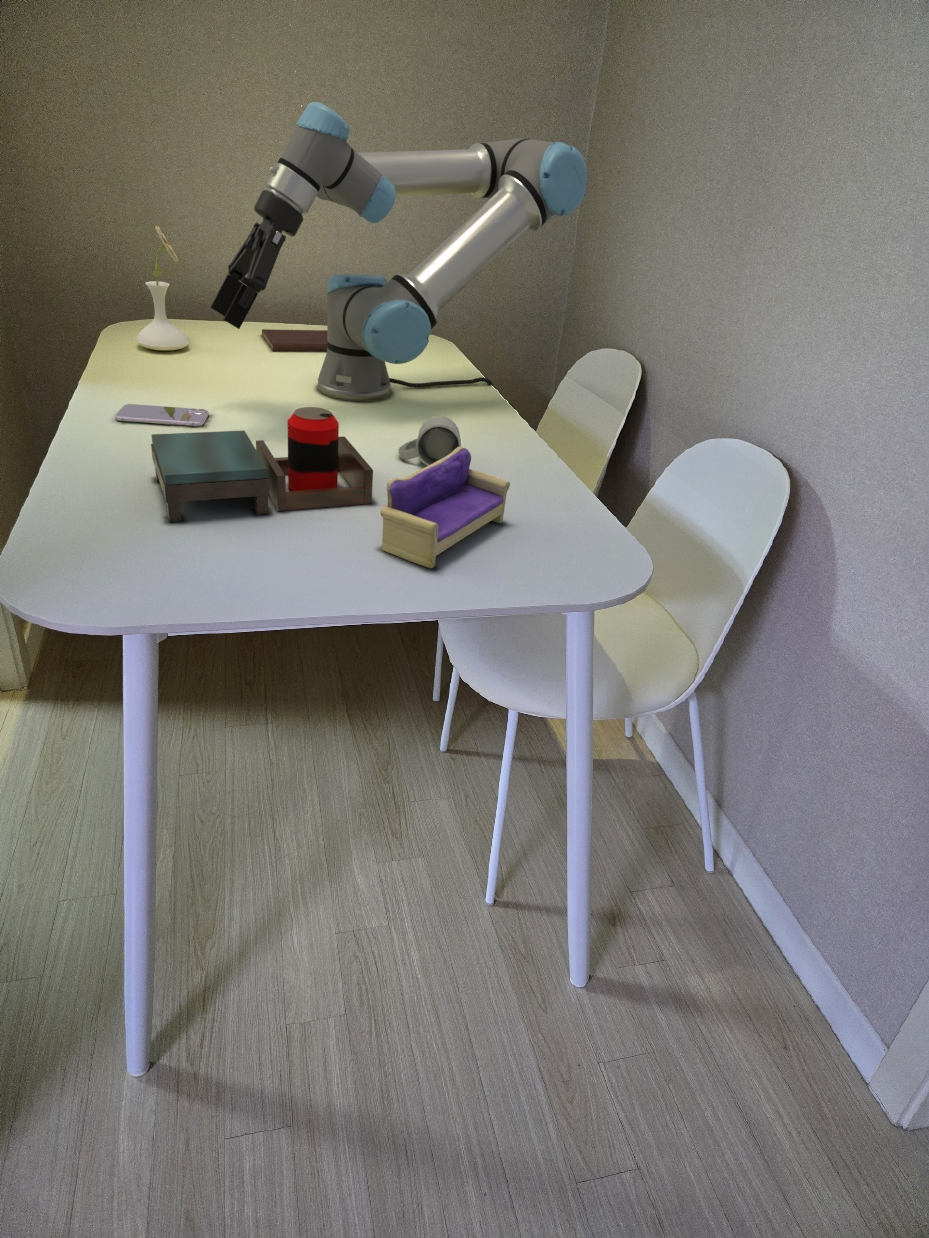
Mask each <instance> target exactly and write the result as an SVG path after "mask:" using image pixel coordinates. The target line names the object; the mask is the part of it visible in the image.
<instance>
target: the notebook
mask: <svg viewBox="0 0 929 1238" xmlns="http://www.w3.org/2000/svg"><path fill="white" fill-rule="evenodd" d="M261 336H262V338H263V339H264V341H265V343H266V344H267V345H268V346H269V348H270V349H271V350H272V352H322V353H323V352H325V353H327V330H325V329H322V330H321V329H273V328H271V329H269V328H267V329H266V328H265V329H264V328H262V329H261Z"/></svg>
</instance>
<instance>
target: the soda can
mask: <svg viewBox="0 0 929 1238" xmlns="http://www.w3.org/2000/svg"><path fill="white" fill-rule="evenodd" d="M286 423H287V457H288V474H287V476H288V477H287V479H288V480H287V482H288V483H287V484H288V488H289V490H290V491H303V490H316V489H329V488H339V486H338V485H339V484H338V483H339V481H338V478H339V471H338V439H339V437H340V435H339V434H340V423H339V421H338V420H337V418H336V417H335V416H334V414H333V412H332V411H331V410H329V409H326V408H323V407H317V406H305V407H304V406H303V407H299V408H297V409H295V410H294V411H293V413H292V414H291V415H290V416H289V417H288V419H287V421H286Z"/></svg>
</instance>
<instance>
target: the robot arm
mask: <svg viewBox="0 0 929 1238" xmlns="http://www.w3.org/2000/svg"><path fill="white" fill-rule="evenodd" d="M350 131H351V129H350V127H349V124H348V123H347V122H346V121H345V120H344V119H343V117H341V116H340V115H339V114H338V113H337V112H336V111H334V110H333V109H332V108H330V107H328V106H327V105H325V104H324V103H321V102H320V101H312V102H310V103H308V105H307V106H306V107H305V109H304V110H303V112H302V113H301V116H299V119H298V120H297V122H296V123H295V124H294V129H293V131H292V133H291V135H290V136H289V139H288V141H287V143H286V145H285V147H284V149H283V151H282V153H281V155H280V157H279V159H278V160H277V162H276V164H275V166H270V167H269V169H268V170H269V172H270V173H271V175H270V176H269V178H268V180H267V182H266V183H265V184H266V188H267V189H264V190H262V191H261V192H260V195H259V197H258V198H257V200H256V202H255V204H254V206H253V210H254V212H255V213H256V214H257V215H258V216H260V217H261V218H262V219H263V220H262V222H261V223H258V222H255V223H254V224H253V227H252V228H251V230H250V232H249V234H248V235H247V237H246V238H245V240H244V241H243V244H242V245H241V246H240V248H239V250H238V251H237V253H236V254H235V256H233V259H232V260H231V262H230V263H229V264H228V265H227V269H228V272H227V274H226V276H225V279H224V280H223V282H222V284H221V286H220V288H219V290H218V292H217V293H216V296H215V298H214V299H213V302H212V303H211V306H210V309H212V310H214V311H215V312H217V313H218V314H220V315H221V316H222V317H223V316H224V317H223V319H222V320H223V321H225V322H226V323H228V324H229V325H231V326H232V327H234V328H236V329H238V330H240V329H241V327H242V325H243V323H244V321H245V319H246V318H247V315H248V314H249V312H250V310H251V308H252V307H253V304H254V302H255V300H256V299H257V296H258V295H259V293H261V292H263V291H265V290H266V288H267V285H268V282H269V279H270V277H271V275H272V272H273V269H274V266H275V264H276V261H277V259H278V256H279V254H280V251H281V249H282V247H283V245H284V243H285V242H286V239H287V236H289V237H295V236H296V235H297V234H298V231H299V229H300V228H301V225H302V223H303V221H304V216H303V214H304V215H305V214H308V213H309V211H310V210H311V207H312V205H313V203H314V201H315V200H316V198H318V199H320V200H322V201H328V202H330V203H331V202H332V203H333V204H337V205H340V206H343V207H346V208H348V209H351V210H352V211H353V212H355V213H356V214H357V215H358V216H359V218H363V219H365V221H367V222H368V223H370V224H378V223H380V222H381V221H383V220H384V219H385V218H386V217H387V216H388V215H389V213H390V212H391V210H392V208H393V207H394V205H395V202H396V198H401V197H404V198H405V197H420V196H422V197H423V196H442V195H443V196H444V195H458V194H459V195H460V194H461V195H462V194H470V195H471V196H472V197H473V198H475V199H488V200H486V202H484V203H483V205H481V206H480V207H479V208H478V209H477V210H476V211H475V212H474V213H472V215H470V217H469V218H467V220H465V221H464V222H463V223H462V224H461V225H460V226H459V227H458V228H456V230H454V231H453V232H452V233H451V234H450V235H449V236H448V237H447V238H446V239H445V240H444V241H443V242H442V243H440V245H438V246H437V247H436V248H435V249H434V250H433V251H432V252H431V253H430V254H429V255H428V256H427V257H426V258H425V259H423V260H422V261H421V262H420V263H419V264H418V265H417V266H416V267H415V268H414V269H412V270H411V272H409V273H408V274H404V273H396V274H395V275H394V276H392V277H391V278H390V279H389V280H388V279H387V278H386V277H385V276H382V275H373V274H352V273H351V274H350V273H349V274H348V273H347V274H346V273H345V274H339V273H338V274H334V275H331V276H330V277H329V278H328V285H327V291H326V296H327V318H326V319H327V323H326V324H327V326H326V327H327V352H326V353H325V354H326V355H325V357H324V359H323V363H322V366H321V369H320V370H319V371H320V372H319V375H318V378H317V390H318V391H319V392H320V393H322V394H323V395H325V396H327V397H331V398H334V399H338V400H344V401H350V402H351V401H352V402H372V401H379V400H382V399H386V398H387V397H389V396H390V395H391V385H392V384H395V385H396V384H397V385H399V386H403V387H408V388H414V389H415V388H416V389H417V388H418V389H419V388H430V387H441V386H443V387H444V386H457V385H474V384H476V383H486V384H487V386H494V383H493V382H492V381H491V380H490V379H489V378H487V377H476V378H472V379H457V380H439V381H429V382H408V381H405V380H401V379H398V378H397V379H396V378H392V377H390V376H389V372H388V368H387V364H386V363H388V364H392V365H402V364H403V365H404V364H407V363H409V362H412V361H414V360H416V359H417V358H418V357H420V355H421V354H422V353H423V352H424V351H425V349H426V348H427V346H428V344H429V341H430V340H429V337H430V336H431V333H432V331H431V330H432V329H433V328H435V327H436V325H437V324H438V319H439V318H438V317H439V312H440V311H441V309H443V307H445V306H446V305H447V304H448V303H449V302H450V301H451V300H452V299H453V298H455V296H456V295H458V294H459V293H460V292H461V291H462V290H463V289H464V288H465V287H466V286H467V285H468V284H469V283H471V282H472V281H473V280H474V278H476V277H477V276H478V275H479V274H480V273H481V272H482V271H483V270H485V269H486V268H487V267H488V266H489V265H490V264H491V263H492V262H493V261H494V260H495V259H496V258H497V257H498V256H500V254H501V253H503V252H504V251H505V250H506V249H507V248H508V247H509V246H510V245H511V244H512V243H513V242H514V241H515V240H517V239H518V237H520V236H521V235H522V234H523V233H524V232H525V231H526V230H527V231H538V230H539V229H540V228H542V227H543V226H544V224H546V223H547V222H548V221H549V220H550V219H552V217H553V216H558V217H563V216H568V215H570V214H571V213H573V212H574V211H576V210H577V208H578V207H579V206H580V204H581V203H582V201H583V199H584V197H585V194H586V190H587V188H586V187H587V186H586V185H587V183H588V168H587V165H586V161H585V158H584V157H583V155H582V154H581V152H580V151H579V150H578V149H577V148H576V147H575V146H573V145H570V144H567V143H565V142H562V141H554V142H553V141H546V140H540V139H533V138H529V137H519V138H511V139H505V140H498V141H497V140H496V141H489V142H475V143H473V144H472V145H471V146H470V147H469V148H467V149H438V150H435V149H434V150H433V149H432V150H403V151H402V150H401V151H373V152H357V151H356V150H354V148H353V147H351V145H350V144H349V143H348V142H347V141H348V140H349V136H350V133H351V132H350ZM286 235H287V236H286Z"/></svg>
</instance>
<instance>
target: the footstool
mask: <svg viewBox="0 0 929 1238" xmlns="http://www.w3.org/2000/svg"><path fill="white" fill-rule="evenodd" d="M150 449H151V450H150V451H151V457H152V463H153V466H154V471H155V480H156V483H159V485H160V488H161V491H162V493H163V497H164V500H165V503H166V511H167V519H168V521H169V523H177V522H178V523H179V522H183V520H182V509H181V503H185V502H197V501H211V500H212V501H213V500H223V499H236V498H237V499H238V498H250V497H251V498H252V497H254V511H255V513H256V515H258V516H260V515H269V495H270V492H269V478H268V476H267V468H266V466H265V464H264V463H263V461H262V459H261V458H260V456H259V454H258V453H257V451H256V446H254V444H253V443H252V440H251V439H250V438H249V435H248V434H247V432H246V431H245V430H224V431H223V430H222V431H199V432H197V431H196V432H178V433H177V432H176V433H173V432H172V433H155V434H154V433H152V434H151V443H150Z"/></svg>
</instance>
